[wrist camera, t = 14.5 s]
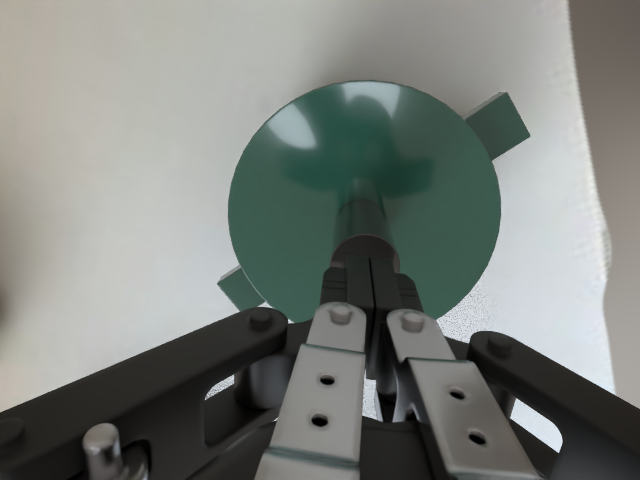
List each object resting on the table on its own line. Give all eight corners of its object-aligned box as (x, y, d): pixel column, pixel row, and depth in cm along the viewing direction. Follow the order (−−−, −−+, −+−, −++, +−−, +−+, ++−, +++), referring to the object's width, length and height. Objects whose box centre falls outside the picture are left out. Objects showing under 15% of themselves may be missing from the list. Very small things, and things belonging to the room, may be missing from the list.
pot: (205, 182, 29) (151, 219, 22) (423, 19, 25) (457, -11, 17) (305, 309, 32) (291, 383, 24) (516, 183, 28) (583, 222, 20)
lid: (181, 184, 21) (119, 222, 16) (403, 16, 18) (429, -16, 12) (328, 365, 25) (322, 452, 19) (539, 250, 21) (610, 312, 16)
